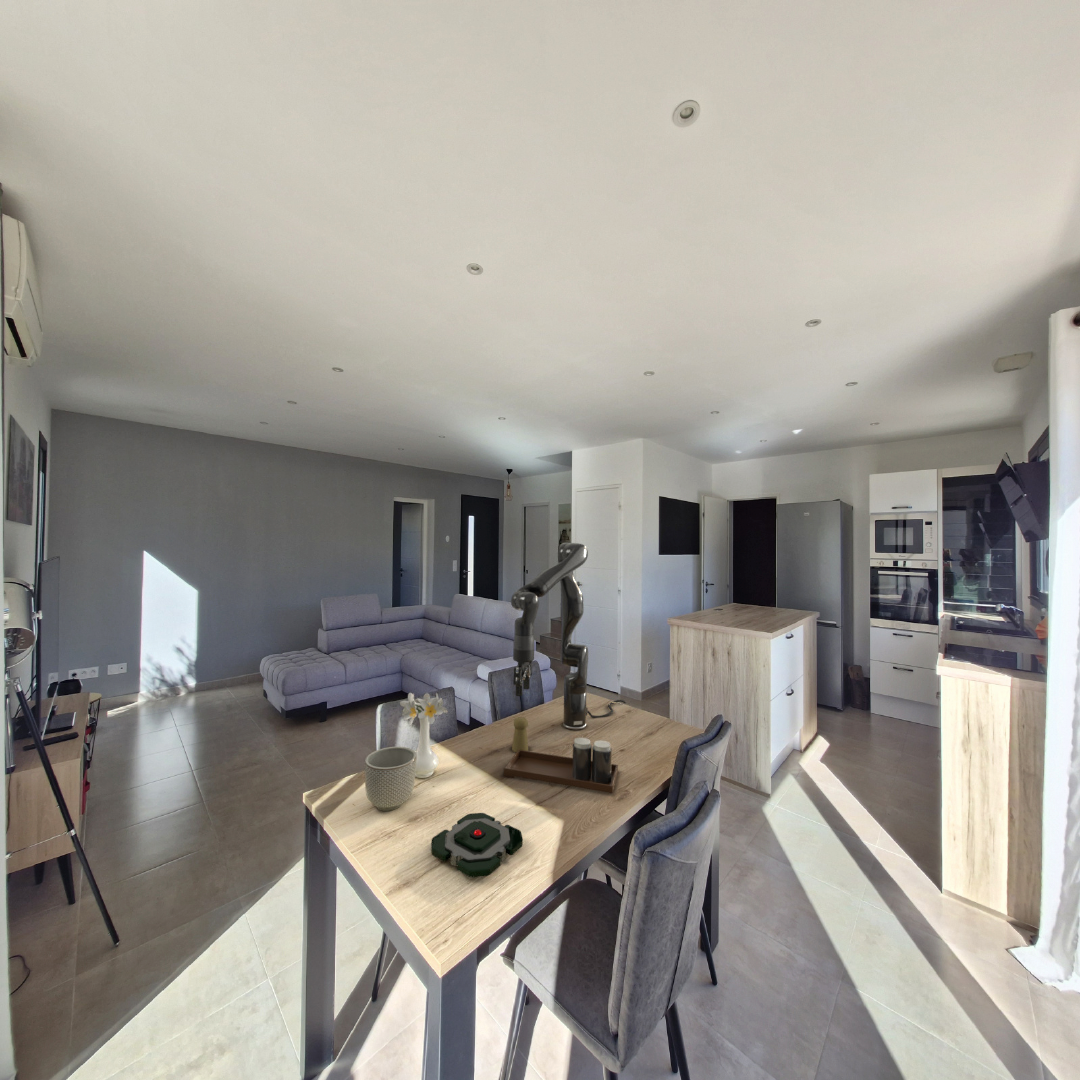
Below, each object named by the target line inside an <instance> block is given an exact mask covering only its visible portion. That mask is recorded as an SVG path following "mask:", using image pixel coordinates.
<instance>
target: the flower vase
mask: <svg viewBox="0 0 1080 1080" xmlns="http://www.w3.org/2000/svg"><path fill="white" fill-rule="evenodd" d="M435 695H436V697H431V695H430V693H428V692H426V693H425V694H424V695H423V698H415V693H412V692H409V693H408V694H407V700H401V701H399V705H400V706H401V707H403V709H402V711H401V713H402V714H401V716H403V717H402V719H403V721H408V720H409V721H408V726H409V727H412V725H413V722H414V720H415V718H418V719H419V721H418V722H419V737H418V745H417V748H416V751H415V752H416V755H417V763H416V774H415V778H417V779H425V778H428V777H429V778H430V777H431V776H432V775H433V774H434V772H435V770H436V769H438V766H439V763H440V760H439V756H438V755H437V753H436V752H435V751H434V750H433V749H432V746H431V740H430V738H431V737H430V728H431V727H430V726H431V725H433V724H434V723H435V720H436V718H435V716H441V715H443V714H445V715H447V714H448V713H449V711H448V710H447V709H446V707H445V706H443V704H444V700H443V698H442V697H440V698H439V694H438V692H436V693H435Z"/></svg>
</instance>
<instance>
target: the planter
mask: <svg viewBox="0 0 1080 1080" xmlns="http://www.w3.org/2000/svg"><path fill="white" fill-rule="evenodd" d="M416 763H417V755H416V751H415V750H414V749H412V748H409V747H406V746H389V747H388V746H387V747H383V748H379V749H377V750H374V751H372V752H371V753H369V754H368V755H367V756H366V757H365V759H364V765H363V767H364V784H365V794H366V798H367V800H368V802H369V803H370V804H372V805H373V806H374V807H376V808H377V809H378V810H380V811H383V812H388V811H389V812H390V811H394V810H397V809H398V808H400V807H401V806H402V805H403V803H404V802H406V801H407V800H408V799H409V798H410V796H411V795H412V793H413V790H414V787H415V781H416V777H415V774H416Z"/></svg>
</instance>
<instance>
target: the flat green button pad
mask: <svg viewBox="0 0 1080 1080" xmlns="http://www.w3.org/2000/svg"><path fill="white" fill-rule="evenodd" d="M522 833H523V832H522V831H521V830H520V829H518V828H517V827H514V826H512V825H510V824H505V825H502V823H501V821H500V820H496V818H495V817H493V816H491V815H489V814H487V813H485V812H474V813H467V814H466V815H464V816H462V817H461V818H459V819H458V820H457V821H456V823H454V824H453V825H452V826H451V829H450V830H448V829H443V830H442V831H441V832H439V833H437V834H436V835H434V836H433V837H432V838H431V844H430V854H431V856H433V857H435V858H436V859H438V860H440V861H441V862H446V861H448V860H450V864H451V866H453V867H456V870H457V872H460V873H461V874H463V875H465V876H467V877H469V878H482V877H488V876H490V875H492V873H494V872H495V871H496V870H497V869H498V868H500V867H501V865H502V864H501V862H503V861H504V860H505V859H506V854H507V855H508V856H513V855H514V854H516V853H517V852H518V851H519V850H520V849H521V848H523V845H524V838H523V835H522Z"/></svg>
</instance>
